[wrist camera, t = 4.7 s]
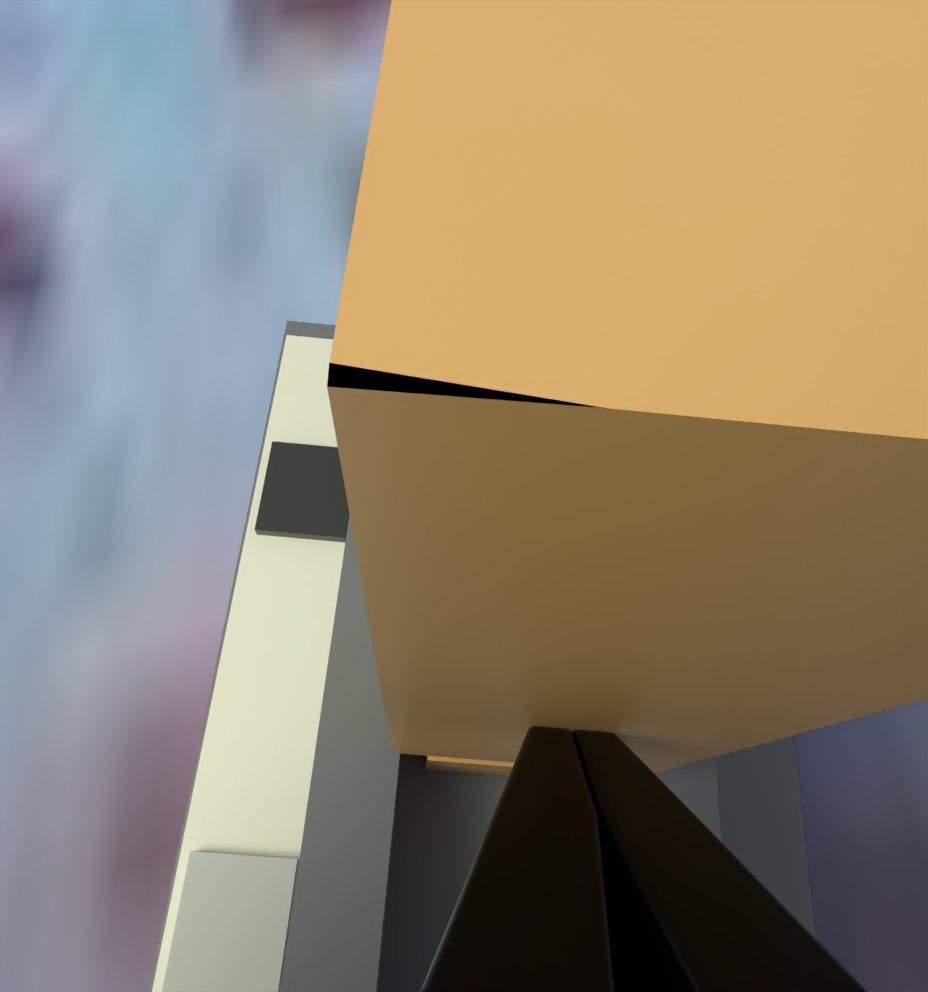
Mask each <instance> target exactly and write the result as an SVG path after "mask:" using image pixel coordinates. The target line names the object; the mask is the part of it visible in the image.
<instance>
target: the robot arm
mask: <svg viewBox="0 0 928 992" xmlns="http://www.w3.org/2000/svg"><path fill="white" fill-rule="evenodd" d="M420 992H868V991H867V990H866V989H865V988H864V987H863V986H862V985H861V984H860V983H859V982H858V981H857V980H856V979H855V978H854V977H853V976H852V975H851V974H850V973H849V972H848V971H847V970H846V969H845V967H844V966H843V965H842V964H841V963H840V962H839V961H838V960H837V959H836V958H835V957H834V956H833V955H832V954H831V953H830V952H829V951H828V950H827V949H826V948H825V947H824V946H823V945H822V944H821V943H820V942H819V941H818V940H817V939H816V938H815V937H814V936H813V935H812V934H811V933H810V932H809V931H808V930H807V929H806V928H805V927H804V926H803V925H802V924H801V923H800V922H799V920H798V919H797V918H796V917H795V916H794V915H793V914H792V913H791V912H790V911H789V910H788V909H787V908H786V907H785V906H784V905H783V904H782V903H781V902H780V901H779V900H778V899H777V898H776V897H775V896H774V895H773V894H772V893H771V892H770V891H769V890H768V889H767V888H766V887H765V886H764V885H763V884H762V883H761V882H760V881H759V880H758V879H757V878H756V877H755V876H754V875H753V874H752V872H751V871H750V870H749V869H748V868H747V867H746V866H745V865H744V864H743V863H742V862H741V861H740V860H739V859H738V858H737V857H736V856H735V855H734V854H733V853H732V852H731V851H730V850H729V849H728V848H727V847H726V846H725V845H724V844H723V843H722V842H721V841H720V840H719V839H718V838H717V837H716V836H715V835H714V834H713V833H712V832H711V831H710V830H709V829H708V828H707V827H706V825H705V824H704V823H703V822H702V821H701V820H700V819H699V818H698V817H697V816H696V815H695V814H694V813H693V812H692V811H691V810H690V809H689V808H688V807H687V806H686V805H685V804H684V803H683V802H682V801H681V800H680V799H679V798H678V797H677V796H676V795H675V794H674V793H673V792H672V791H671V790H670V789H669V788H668V787H667V786H666V785H665V784H664V783H663V782H662V781H661V780H660V779H659V777H658V776H657V775H656V774H655V773H654V772H653V771H652V770H651V769H650V768H649V767H648V766H647V765H646V764H645V763H644V762H643V761H642V760H641V759H640V758H639V757H638V756H637V755H636V754H635V753H634V752H633V751H632V750H631V749H630V748H629V747H628V746H627V745H626V744H625V743H624V742H623V741H622V740H621V739H620V738H619V737H618V736H617V735H616V734H614V733H612V732H603V731H591V730H575V731H574V732H573V733H571V731H569V730H568V729H566V728H555V727H543V726H532V727H530V728H529V729H528V731H527V733H526V736H525V738H524V741H523V743H522V746H521V748H520V750H519V753H518V755H517V758H516V760H515V763H514V765H513V767H512V770H511V772H510V775H509V777H508V780H507V782H506V784H505V787H504V789H503V792H502V794H501V797H500V799H499V801H498V804H497V806H496V809H495V811H494V814H493V816H492V818H491V821H490V823H489V826H488V828H487V830H486V833H485V835H484V838H483V840H482V843H481V845H480V847H479V850H478V852H477V855H476V857H475V860H474V862H473V864H472V867H471V869H470V872H469V874H468V877H467V879H466V881H465V884H464V886H463V889H462V891H461V894H460V896H459V898H458V901H457V903H456V906H455V908H454V911H453V913H452V915H451V918H450V920H449V923H448V925H447V927H446V930H445V932H444V935H443V937H442V940H441V942H440V944H439V947H438V949H437V952H436V954H435V957H434V959H433V961H432V964H431V966H430V969H429V971H428V974H427V976H426V978H425V981H424V983H423V986H422V988H421V990H420Z"/></svg>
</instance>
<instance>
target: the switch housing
mask: <svg viewBox="0 0 928 992" xmlns="http://www.w3.org/2000/svg"><path fill="white" fill-rule="evenodd" d="M335 327H336V326H335V325H325V324H315V323H304V322H294V321H287V324H286V329H285V334H284V339H283V344H282V348H281V353H280V358H279V363H278V368H277V373H276V377H275V382H274V387H273V392H272V397H271V402H270V406H269V411H268V416H267V421H266V426H265V431H264V435H263V440H262V445H261V450H260V455H259V460H258V464H257V469H256V474H255V479H254V484H253V489H252V494H251V498H250V503H249V508H248V513H247V518H246V523H245V527H244V532H243V537H242V542H241V547H240V552H239V556H238V561H237V566H236V571H235V576H234V581H233V585H232V590H231V595H230V600H229V605H228V610H227V614H226V619H225V624H224V629H223V634H222V639H221V643H220V648H219V653H218V658H217V663H216V668H215V672H214V677H213V682H212V687H211V692H210V697H209V701H208V706H207V711H206V716H205V721H204V726H203V730H202V735H201V740H200V745H199V750H198V755H197V759H196V764H195V769H194V774H193V779H192V784H191V789H190V793H189V798H188V803H187V808H186V813H185V818H184V822H183V827H182V832H181V837H180V842H179V847H178V851H177V856H176V861H175V866H174V871H173V876H172V880H171V885H170V890H169V895H168V900H167V905H166V909H165V914H164V919H163V924H162V929H161V934H160V938H159V943H158V948H157V953H156V958H155V963H154V967H153V972H152V977H151V982H150V987H149V992H420V990H421V988H422V986H423V983H424V981H425V978H426V976H427V974H428V971H429V969H430V966H431V964H432V961H433V959H434V957H435V954H436V952H437V949H438V947H439V944H440V942H441V940H442V937H443V935H444V932H445V930H446V927H447V925H448V923H449V920H450V918H451V915H452V913H453V911H454V908H455V906H456V903H457V901H458V898H459V896H460V894H461V891H462V889H463V886H464V884H465V881H466V879H467V877H468V874H469V872H470V869H471V867H472V864H473V862H474V860H475V857H476V855H477V852H478V850H479V847H480V845H481V843H482V840H483V838H484V835H485V833H486V830H487V828H488V826H489V823H490V821H491V818H492V816H493V814H494V811H495V809H496V806H497V804H498V801H499V799H500V797H501V794H502V792H503V789H504V787H505V784H506V782H507V780H508V777H509V776H500V775H488V774H475V773H463V772H450V771H438V770H425V764H426V756H425V755H413V754H401V753H392V750H391V745H390V739H389V733H388V728H387V722H386V717H385V711H384V705H383V700H382V694H381V688H380V683H379V677H378V671H377V666H376V660H375V654H374V649H373V643H372V638H371V632H370V626H369V621H368V615H367V609H366V604H365V598H364V592H363V587H362V581H361V575H360V570H359V564H358V559H357V553H356V547H355V542H354V536H353V530H352V525H351V519H350V513H349V508H348V502H347V496H346V491H345V485H344V479H343V474H342V468H341V463H340V457H339V451H338V446H337V440H336V434H335V429H334V423H333V417H332V412H331V406H330V400H329V395H328V389H327V382H328V371H329V361H330V356H331V350H332V344H333V338H334V332H335ZM655 774H656V775H657V776H658V777H659V779H660V780H661V781H662V782H663V783H664V784H665V785H666V786H667V787H668V788H669V789H670V790H671V791H672V792H673V793H674V794H675V795H676V796H677V797H678V798H679V799H680V800H681V801H682V802H683V803H684V804H685V805H686V806H687V807H688V808H689V809H690V810H691V811H692V812H693V813H694V814H695V815H696V816H697V817H698V818H699V819H700V820H701V821H702V822H703V823H704V824H705V825H706V827H707V828H708V829H709V830H710V831H711V832H712V833H713V834H714V835H715V836H716V837H717V838H718V839H719V840H720V841H721V842H722V843H723V844H724V845H725V846H726V847H727V848H728V849H729V850H730V851H731V852H732V853H733V854H734V855H735V856H736V857H737V858H738V859H739V860H740V861H741V862H742V863H743V864H744V865H745V866H746V867H747V868H748V869H749V870H750V871H751V872H752V874H753V875H754V876H755V877H756V878H757V879H758V880H759V881H760V882H761V883H762V884H763V885H764V886H765V887H766V888H767V889H768V890H769V891H770V892H771V893H772V894H773V895H774V896H775V897H776V898H777V899H778V900H779V901H780V902H781V903H782V904H783V905H784V906H785V907H786V908H787V909H788V910H789V911H790V912H791V913H792V914H793V915H794V916H795V917H796V918H797V919H798V920H799V922H800V923H801V924H802V925H803V926H804V927H805V928H806V929H807V930H808V931H809V932H810V933H811V934H812V935H813V936H814V937H815V938H816V932H815V923H814V914H813V904H812V895H811V886H810V877H809V867H808V858H807V849H806V840H805V830H804V821H803V812H802V803H801V793H800V784H799V775H798V766H797V756H796V747H795V738H794V735H793V736H789V737H786V738H782V739H778V740H775V741H771V742H767V743H764V744H760V745H756V746H753V747H749V748H745V749H742V750H738V751H734V752H731V753H727V754H723V755H720V756H716V757H712V758H709V759H705V760H701V761H698V762H694V763H690V764H687V765H683V766H679V767H676V768H672V769H668V770H665V771H661V772H657V773H655Z"/></svg>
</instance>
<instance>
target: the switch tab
mask: <svg viewBox="0 0 928 992" xmlns="http://www.w3.org/2000/svg"><path fill="white" fill-rule="evenodd" d="M327 389H328V395H329V400H330V406H331V412H332V417H333V423H334V429H335V434H336V440H337V446H338V451H339V457H340V463H341V468H342V474H343V479H344V485H345V491H346V496H347V502H348V508H349V513H350V519H351V525H352V530H353V536H354V542H355V547H356V553H357V559H358V564H359V570H360V575H361V581H362V587H363V592H364V598H365V604H366V609H367V615H368V621H369V626H370V632H371V638H372V643H373V649H374V654H375V660H376V666H377V671H378V677H379V683H380V688H381V694H382V700H383V705H384V711H385V717H386V722H387V728H388V733H389V739H390V745H391V750H392V753H401V754H413V755H425V756H426V764H425V770H438V771H450V772H463V773H475V774H488V775H500V776H509V775H510V772H511V770H512V767H513V765H514V763H515V760H516V758H517V755H518V753H519V750H520V748H521V746H522V743H523V741H524V738H525V736H526V733H527V731H528V729H529V728H530V727H532V726H543V727H555V728H566V729H568V730H569V731H571V733H573V732H574V731H575V730H591V731H603V732H612V733H614V734H616V735H617V736H618V737H619V738H620V739H621V740H622V741H623V742H624V743H625V744H626V745H627V746H628V747H629V748H630V749H631V750H632V751H633V752H634V753H635V754H636V755H637V756H638V757H639V758H640V759H641V760H642V761H643V762H644V763H645V764H646V765H647V766H648V767H649V768H650V769H651V770H652V771H653V772H654V773H657V772H661V771H665V770H668V769H672V768H676V767H679V766H683V765H687V764H690V763H694V762H698V761H701V760H705V759H709V758H712V757H716V756H720V755H723V754H727V753H731V752H734V751H738V750H742V749H745V748H749V747H753V746H756V745H760V744H764V743H767V742H771V741H775V740H778V739H782V738H786V737H789V736H793V735H797V734H800V733H804V732H808V731H811V730H815V729H819V728H822V727H826V726H830V725H833V724H837V723H841V722H844V721H848V720H852V719H855V718H859V717H863V716H866V715H870V714H874V713H877V712H881V711H885V710H888V709H892V708H896V707H899V706H903V705H907V704H910V703H914V702H918V701H921V700H925V699H928V0H392V3H391V9H390V15H389V21H388V26H387V32H386V38H385V44H384V50H383V55H382V61H381V67H380V73H379V78H378V84H377V90H376V96H375V102H374V107H373V113H372V119H371V125H370V130H369V136H368V142H367V148H366V153H365V159H364V165H363V171H362V177H361V182H360V188H359V194H358V200H357V205H356V211H355V217H354V223H353V229H352V234H351V240H350V246H349V252H348V257H347V263H346V269H345V275H344V280H343V286H342V292H341V298H340V304H339V309H338V315H337V321H336V327H335V332H334V338H333V344H332V350H331V356H330V361H329V371H328V382H327Z"/></svg>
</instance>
